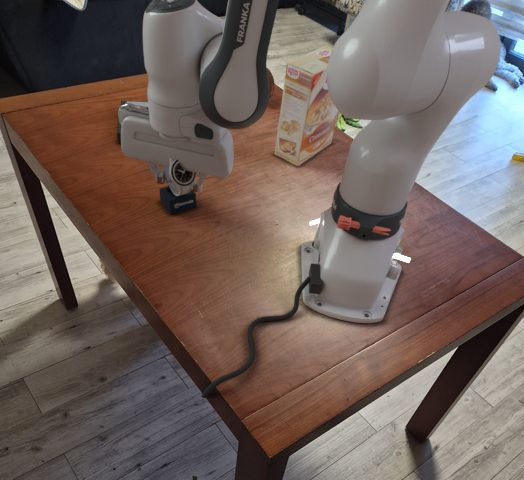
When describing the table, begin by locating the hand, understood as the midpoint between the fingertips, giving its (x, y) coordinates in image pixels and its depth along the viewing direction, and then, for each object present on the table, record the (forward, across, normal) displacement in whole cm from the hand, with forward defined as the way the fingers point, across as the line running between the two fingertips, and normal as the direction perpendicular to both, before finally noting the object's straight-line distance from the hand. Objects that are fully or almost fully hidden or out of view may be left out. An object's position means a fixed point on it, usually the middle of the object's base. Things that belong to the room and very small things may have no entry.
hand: (179, 186), depth 89 cm
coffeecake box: (+4, +20, +31) cm, 37 cm away
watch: (+4, 0, 0) cm, 4 cm away
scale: (+4, -15, +26) cm, 30 cm away
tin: (+4, +1, +51) cm, 52 cm away
